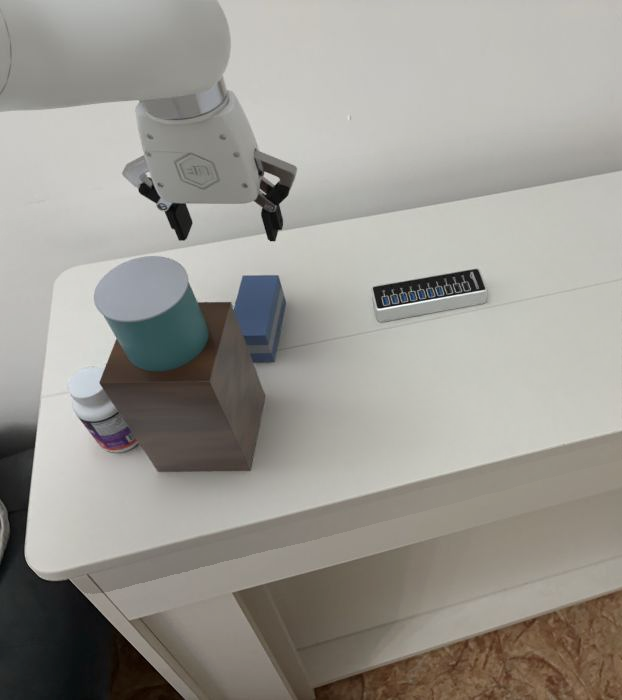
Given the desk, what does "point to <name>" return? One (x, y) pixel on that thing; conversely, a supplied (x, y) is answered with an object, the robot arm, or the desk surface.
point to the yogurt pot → (152, 312)
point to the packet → (260, 314)
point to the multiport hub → (429, 295)
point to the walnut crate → (193, 401)
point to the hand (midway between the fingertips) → (230, 232)
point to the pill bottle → (99, 411)
